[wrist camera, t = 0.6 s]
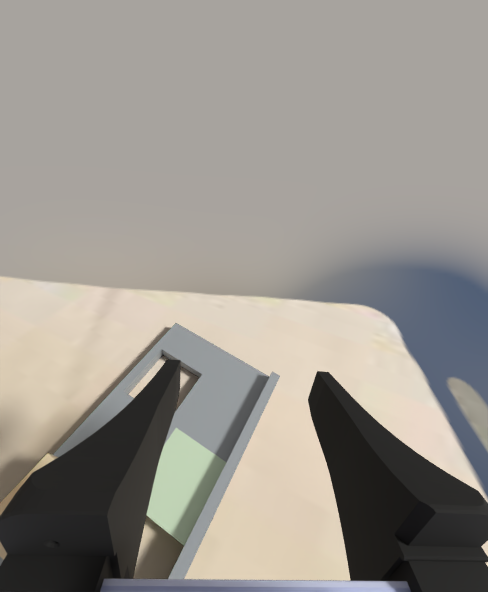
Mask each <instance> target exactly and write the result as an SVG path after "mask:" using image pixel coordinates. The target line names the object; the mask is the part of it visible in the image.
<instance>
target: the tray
mask: <svg viewBox="0 0 488 592" xmlns="http://www.w3.org/2000/svg"><path fill="white" fill-rule="evenodd" d="M162 355H164V356H166V357H167V358H169V359H173V360H181V366H182V367H183V368H185V369H186V370H188V371H190V372H191V373H193V374H194V375H196V376H198V377H199V379H198V381H197V382H196V384H195V385H194V386H193V388H192V389H191V391H190V392H189V393H188V395H187V396H186V398H185V399H184V400H183V402H182V403H181V405H180V406H179V408H178V409H177V410H176V412H175V413H174V416H173V419H172V422H171V425H170V428H169V431H168V434H167V437H166V441H165V444H164V447H163V450H162V453H161V456H160V459H159V463H158V467H157V471H156V475H155V480H154V484H153V488H152V493H151V497H150V501H149V506H148V510H147V516H148V517H149V518H150V519H152V520H153V521H154V522H155V523H156V524H158V525H159V526H160V527H161V528H163V529H164V530H165V531H166V532H168V533H169V534H170V535H171V536H172V537H174V538H175V539H176V540H177V541H179V542H180V543H181V544H182V545H183V546H184V547H183V549H182V551H181V553H180V555H179V557H178V559H177V561H176V563H175V565H174V567H173V569H172V571H171V573H170V575H169V577H168V579H184V578H185V576H186V574H187V571H188V569H189V567H190V565H191V563H192V561H193V559H194V557H195V555H196V552H197V550H198V548H199V546H200V544H201V542H202V540H203V538H204V536H205V533H206V531H207V529H208V527H209V525H210V523H211V521H212V519H213V517H214V514H215V512H216V510H217V508H218V506H219V504H220V502H221V500H222V498H223V495H224V493H225V491H226V489H227V487H228V485H229V483H230V481H231V479H232V476H233V474H234V472H235V470H236V468H237V466H238V464H239V462H240V460H241V457H242V455H243V453H244V451H245V449H246V447H247V445H248V443H249V441H250V438H251V436H252V434H253V432H254V430H255V428H256V426H257V424H258V422H259V419H260V417H261V415H262V413H263V411H264V409H265V407H266V405H267V403H268V400H269V398H270V396H271V394H272V392H273V390H274V388H275V386H276V383H277V381H278V379H279V377H280V376H279V375H277V374H276V373H274V372H272V373H271V375H270V377H269V376H267V375H266V374H264V373H262V372H260V371H259V370H257V369H255V368H253V367H252V366H250V365H248V364H247V363H245V362H243V361H241V360H240V359H238V358H236V357H234V356H233V355H231V354H229V353H227V352H226V351H224V350H222V349H221V348H219V347H217V346H215V345H214V344H212V343H210V342H208V341H207V340H205V339H203V338H201V337H200V336H198V335H196V334H195V333H193V332H191V331H189V330H188V329H186V328H184V327H182V326H181V325H179V324H177V323H175V324H174V325H173V326H172V328H171V329H170V330H169V331H168V332H167V333H166V334H165V335H164V336H163V337H162V338H161V339H160V340H159V341H158V343H157V344H156V345H155V346H154V347H153V348H152V349H151V350H150V351H149V352H148V353H147V354H146V355H145V356H144V358H143V359H142V360H141V361H140V362H139V363H138V364H137V365H136V366H135V367H134V368H133V369H132V370H131V371H130V373H129V374H128V375H127V376H126V377H125V378H124V379H123V380H122V381H121V382H120V383H119V384H118V385H117V386H116V388H115V389H114V390H113V391H112V392H111V393H110V394H109V395H108V396H107V397H106V398H105V399H104V400H103V401H102V402H101V404H100V405H99V406H98V407H97V408H96V409H95V410H94V411H93V412H92V413H91V414H90V415H89V416H88V417H87V419H86V420H85V421H84V422H83V423H82V424H81V425H80V426H79V427H78V428H77V429H76V430H75V431H74V432H73V434H72V435H71V436H70V437H69V438H68V439H67V440H66V441H65V442H64V443H63V444H62V445H61V446H60V447H59V449H58V450H57V451H56V452H55V453H54V454H53V455H54V456H56V457H60V456H61V455H63V454H64V453H66V452H68V451H69V450H71V449H72V448H73V447H75V446H76V445H78V444H79V443H81V442H82V441H84V440H85V439H86V438H88V437H89V436H91V435H92V434H93V433H95V432H96V431H97V430H99V429H100V428H101V427H102V426H104V425H105V424H106V423H107V422H109V421H110V420H111V419H112V418H113V417H115V416H116V415H117V414H118V413H119V412H120V411H121V410H123V409H124V408H125V407H126V406H127V405H128V404H129V403H130V402H131V401H132V400H133V399H134V398H133V397H131V396H130V395H128V394H129V393H130V392H131V390H132V389H133V388H134V387H135V386H136V385H137V384H138V382H139V381H140V380H141V379H142V378H143V377H144V376H145V375H146V373H147V372H148V371H149V370H150V369H151V368H152V367H153V365H154V364H155V363H156V362H157V361H158V360H159V359H160V357H161V356H162ZM2 562H3V559H2V558H1V557H0V565H1V564H2Z"/></svg>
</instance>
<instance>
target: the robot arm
mask: <svg viewBox="0 0 488 592" xmlns="http://www.w3.org/2000/svg"><path fill="white" fill-rule="evenodd" d="M180 366H181V360H173V359H168V360H167V361H166V362H165V363H164V365H163V366H162V367H161V369H160V370H159V371H158V372H157V374H156V375H155V376H154V377H153V379H152V380H151V381H150V382H149V383H148V384H147V385H146V386H145V388H144V389H143V390H142V391H141V392H140V393H139V394H138V395H137V396H136V397H135V398H134V399H133V400H132V401H131V402H130V403H129V404H128V405H127V406H126V407H125V408H124V409H123V410H121V411H120V412H119V413H118V414H117V415H116V416H115V417H113V418H112V419H111V420H110V421H109V422H107V423H106V424H105V425H104V426H102V427H101V428H100V429H99V430H97V431H96V432H95V433H93V434H92V435H91V436H89V437H88V438H86V439H85V440H84V441H82V442H81V443H79V444H78V445H76V446H75V447H73V448H72V449H71V450H69V451H68V452H66V453H64V454H63V455H61V456H60V457H58V458H56V459H55V460H53V461H51V462H50V463H48V464H46V465H45V466H43V467H41V468H40V469H38V470H36V471H34V472H33V473H32V474H31V475H30V476H29V478H28V479H27V480H26V481H25V482H24V483H23V485H22V486H21V487H20V488H19V490H18V491H17V492H16V494H15V495H14V497H13V498H12V499H11V501H10V502H9V504H8V505H7V507H6V508H5V510H4V511H3V512H2V514H1V515H0V542H1V544H2V545H3V547H4V549H5V551H6V553H7V555H6V557H5V559H4V560H3V562H2V564H1V565H0V592H488V566H487V565H486V563H485V562H488V556H487V555H486V553H485V552H484V550H483V549H482V547H481V546H482V545H483V544H484V543H485V542H486V541H487V540H488V503H487V502H486V500H485V499H484V498H483V497H482V495H481V494H480V493H479V491H477V490H475V489H474V488H472V487H470V486H469V485H467V484H465V483H463V482H462V481H460V480H458V479H457V478H455V477H453V476H451V475H450V474H448V473H447V472H445V471H443V470H442V469H440V468H439V467H437V466H436V465H434V464H433V463H431V462H429V461H428V460H427V459H425V458H424V457H422V456H421V455H419V454H418V453H416V452H415V451H414V450H412V449H411V448H410V447H408V446H407V445H405V444H404V443H403V442H402V441H400V440H399V439H398V438H396V437H395V436H394V435H393V434H391V433H390V432H389V431H388V430H387V429H385V428H384V427H383V426H382V425H381V424H380V423H378V422H377V421H376V420H375V419H374V418H373V417H372V416H371V415H370V414H369V413H368V412H367V411H365V410H364V409H363V408H362V407H361V406H360V405H359V404H358V403H357V402H356V401H355V400H354V399H353V398H352V397H351V395H350V394H349V393H348V392H347V391H346V390H345V389H344V388H343V387H342V386H341V385H340V384H339V383H338V382H337V381H336V380H335V379H334V378H333V376H332V375H331V374H330V373H329V372H319V371H317V374H316V377H315V380H314V383H313V386H312V389H311V392H310V395H309V398H308V402H309V407H310V412H311V417H312V420H313V424H314V427H315V430H316V433H317V436H318V439H319V442H320V445H321V448H322V450H323V453H324V456H325V459H326V462H327V466H328V469H329V473H330V477H331V481H332V485H333V489H334V494H335V498H336V503H337V507H338V512H339V517H340V522H341V527H342V532H343V538H344V543H345V548H346V554H347V560H348V567H349V573H350V579H351V581H323V580H205V579H133V576H134V571H135V566H136V562H137V557H138V552H139V547H140V542H141V538H142V533H143V529H144V524H145V519H146V515H147V510H148V506H149V501H150V497H151V493H152V488H153V484H154V480H155V475H156V471H157V467H158V463H159V459H160V456H161V453H162V450H163V447H164V444H165V441H166V437H167V434H168V431H169V428H170V425H171V422H172V419H173V416H174V413H175V410H176V405H177V401H178V396H179V391H180Z"/></svg>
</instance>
